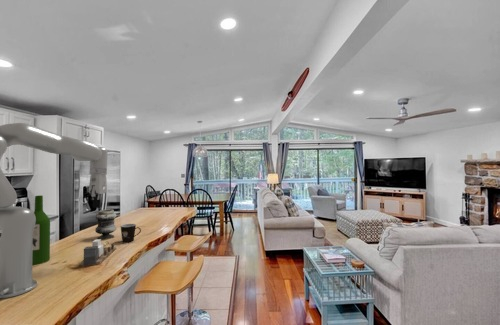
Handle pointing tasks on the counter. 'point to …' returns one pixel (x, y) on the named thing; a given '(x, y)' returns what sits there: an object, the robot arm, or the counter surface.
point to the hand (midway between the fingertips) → (96, 207)
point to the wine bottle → (41, 234)
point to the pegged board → (96, 254)
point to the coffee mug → (128, 232)
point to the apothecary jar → (105, 224)
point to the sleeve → (100, 247)
